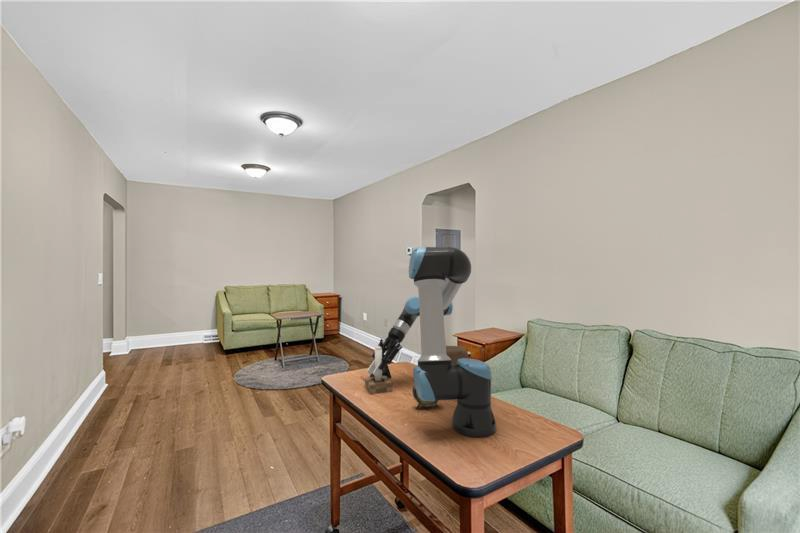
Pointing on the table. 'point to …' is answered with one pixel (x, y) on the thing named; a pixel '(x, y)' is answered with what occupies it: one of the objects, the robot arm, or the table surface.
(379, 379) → the needle peg
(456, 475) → the table surface
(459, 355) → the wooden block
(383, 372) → the door stopper
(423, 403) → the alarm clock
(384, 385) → the brown square box
